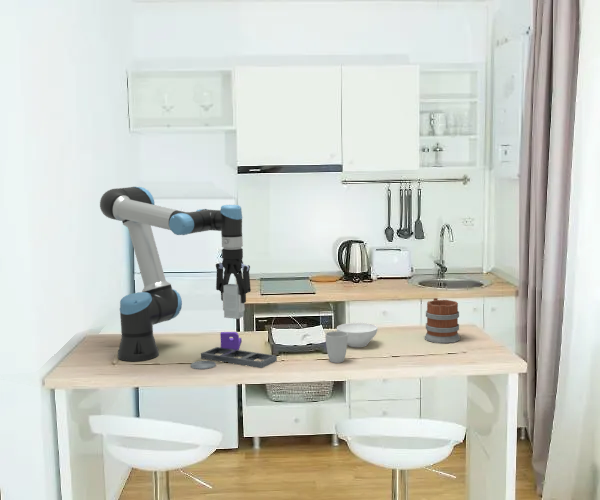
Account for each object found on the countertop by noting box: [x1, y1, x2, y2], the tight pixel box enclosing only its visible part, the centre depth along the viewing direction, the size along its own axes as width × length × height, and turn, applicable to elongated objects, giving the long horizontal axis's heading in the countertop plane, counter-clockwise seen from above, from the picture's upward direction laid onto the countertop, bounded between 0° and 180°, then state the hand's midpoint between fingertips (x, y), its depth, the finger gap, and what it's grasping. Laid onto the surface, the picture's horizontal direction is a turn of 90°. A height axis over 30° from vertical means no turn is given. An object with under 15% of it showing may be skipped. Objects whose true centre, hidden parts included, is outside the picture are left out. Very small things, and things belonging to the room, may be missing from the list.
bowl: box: [336, 322, 379, 348], centre depth 298 cm, size 16×16×7 cm
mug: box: [424, 297, 461, 344], centre depth 307 cm, size 14×19×15 cm
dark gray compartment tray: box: [200, 346, 278, 369], centre depth 281 cm, size 27×10×2 cm, turn 60°
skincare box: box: [223, 283, 244, 320], centre depth 278 cm, size 6×4×12 cm
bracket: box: [219, 331, 242, 350], centre depth 301 cm, size 12×7×7 cm, turn 179°
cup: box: [324, 330, 348, 364], centre depth 277 cm, size 8×8×10 cm
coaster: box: [190, 360, 217, 370], centre depth 275 cm, size 9×9×1 cm
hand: (233, 310), depth 279 cm, fingers closed on skincare box, 6 cm apart
